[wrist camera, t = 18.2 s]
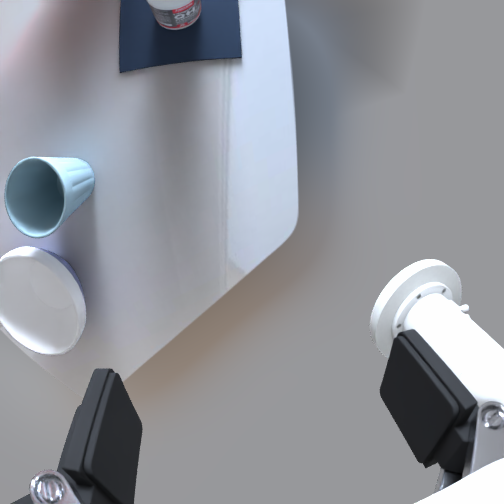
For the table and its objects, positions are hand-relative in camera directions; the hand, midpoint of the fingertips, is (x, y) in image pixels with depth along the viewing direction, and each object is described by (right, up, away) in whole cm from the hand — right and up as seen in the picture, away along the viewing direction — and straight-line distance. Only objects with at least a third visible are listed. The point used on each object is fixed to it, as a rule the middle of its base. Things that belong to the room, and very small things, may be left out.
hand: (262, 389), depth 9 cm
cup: (-22, +13, +23) cm, 34 cm away
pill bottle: (-9, +32, +17) cm, 37 cm away
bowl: (-28, 0, +27) cm, 39 cm away
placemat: (-9, +32, +17) cm, 37 cm away
